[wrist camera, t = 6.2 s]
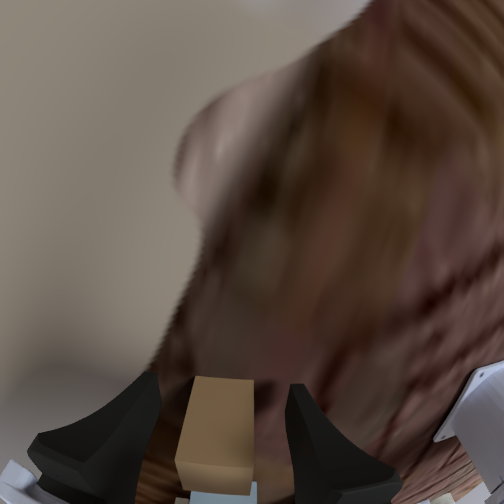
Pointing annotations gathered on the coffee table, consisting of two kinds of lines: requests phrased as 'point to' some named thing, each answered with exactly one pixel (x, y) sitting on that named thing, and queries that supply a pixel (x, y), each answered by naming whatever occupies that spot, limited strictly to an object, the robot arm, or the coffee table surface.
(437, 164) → the coffee table surface
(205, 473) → the tan and blue dumbbell
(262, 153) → the coffee table surface
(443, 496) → the cup
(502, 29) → the coffee table surface
